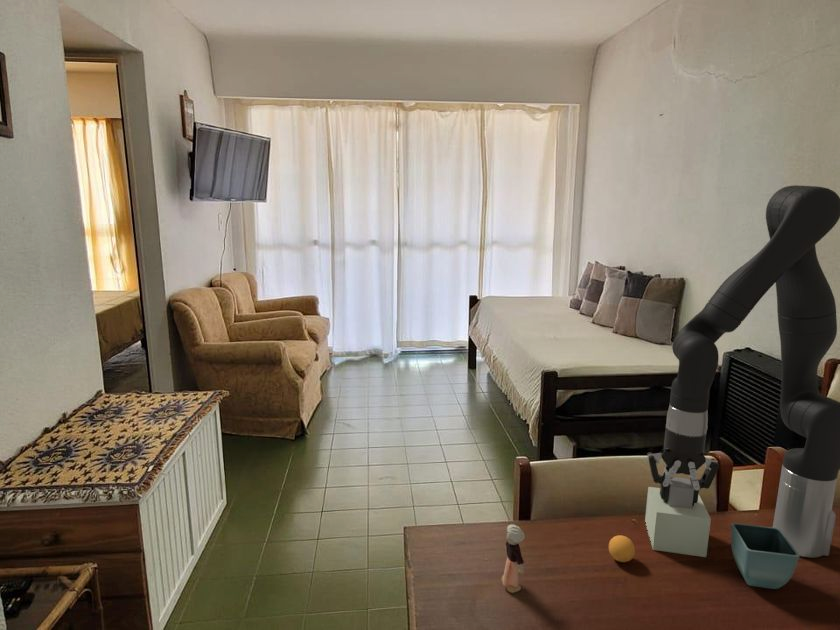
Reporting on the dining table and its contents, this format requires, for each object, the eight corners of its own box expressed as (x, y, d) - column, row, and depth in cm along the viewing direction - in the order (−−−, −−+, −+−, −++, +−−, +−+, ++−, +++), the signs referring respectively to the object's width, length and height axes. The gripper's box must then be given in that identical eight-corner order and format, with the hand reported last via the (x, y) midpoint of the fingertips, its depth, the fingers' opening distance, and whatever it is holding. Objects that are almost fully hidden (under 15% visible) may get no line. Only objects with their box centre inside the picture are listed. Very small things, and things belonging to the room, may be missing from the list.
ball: (632, 553, 110) (634, 532, 109) (635, 569, 106) (637, 547, 105) (606, 550, 112) (608, 528, 111) (609, 565, 107) (610, 543, 106)
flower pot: (794, 599, 98) (801, 556, 96) (741, 592, 99) (747, 550, 98) (773, 567, 106) (779, 527, 104) (724, 562, 108) (730, 522, 106)
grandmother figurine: (492, 576, 104) (494, 517, 101) (509, 570, 105) (511, 513, 103) (514, 602, 97) (517, 541, 94) (532, 596, 99) (535, 535, 96)
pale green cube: (693, 528, 119) (700, 473, 116) (706, 557, 109) (713, 498, 106) (644, 521, 121) (650, 468, 119) (652, 549, 112) (658, 492, 109)
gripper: (718, 423, 112) (709, 497, 115) (646, 416, 115) (639, 488, 119) (730, 438, 105) (719, 516, 108) (652, 431, 108) (644, 507, 112)
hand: (677, 501), depth 113 cm, fingers closed on pale green cube, 4 cm apart
